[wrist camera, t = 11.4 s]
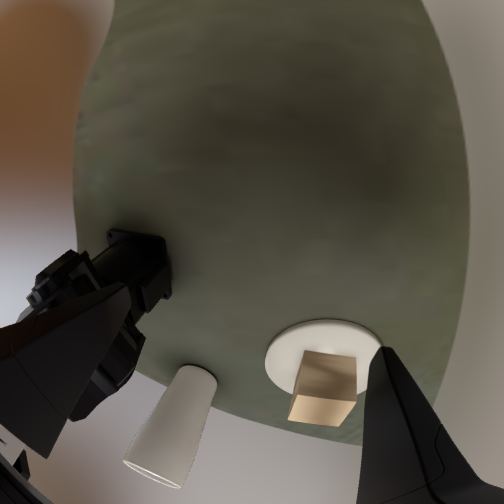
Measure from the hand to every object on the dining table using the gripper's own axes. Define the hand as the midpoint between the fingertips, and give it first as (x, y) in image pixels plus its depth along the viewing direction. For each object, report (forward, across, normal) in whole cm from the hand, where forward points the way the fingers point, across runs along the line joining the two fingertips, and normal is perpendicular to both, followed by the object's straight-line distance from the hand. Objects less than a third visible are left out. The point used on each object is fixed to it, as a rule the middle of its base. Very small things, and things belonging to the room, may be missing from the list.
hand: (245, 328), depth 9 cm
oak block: (+11, -6, +15) cm, 20 cm away
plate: (+12, -6, +15) cm, 20 cm away
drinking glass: (+12, +7, +24) cm, 27 cm away
